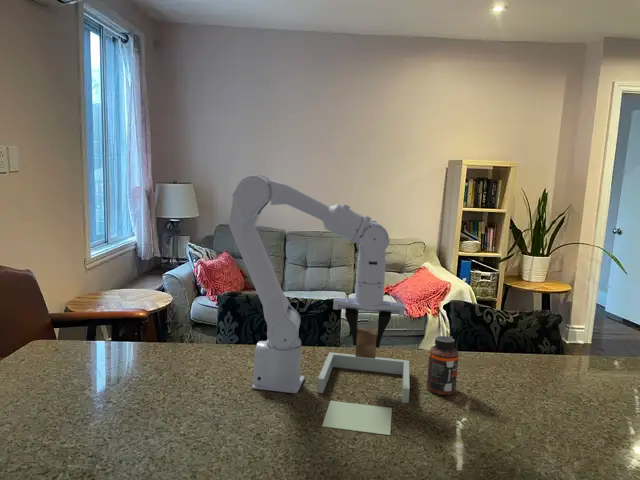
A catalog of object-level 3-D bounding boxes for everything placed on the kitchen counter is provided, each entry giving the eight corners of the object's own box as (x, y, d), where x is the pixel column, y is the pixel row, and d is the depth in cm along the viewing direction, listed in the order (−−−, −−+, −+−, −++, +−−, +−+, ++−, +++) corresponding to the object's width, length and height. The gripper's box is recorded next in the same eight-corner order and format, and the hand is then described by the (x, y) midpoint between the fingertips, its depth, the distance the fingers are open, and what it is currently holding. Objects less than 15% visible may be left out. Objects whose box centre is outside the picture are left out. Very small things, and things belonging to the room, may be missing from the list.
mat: (321, 426, 86) (321, 426, 86) (330, 401, 96) (330, 400, 96) (390, 435, 84) (390, 434, 84) (391, 408, 94) (391, 408, 94)
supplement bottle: (456, 398, 100) (460, 345, 98) (426, 394, 101) (430, 342, 99) (454, 386, 105) (458, 335, 104) (426, 382, 107) (430, 332, 105)
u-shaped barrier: (317, 392, 99) (317, 378, 99) (328, 364, 114) (329, 352, 114) (408, 403, 96) (409, 389, 96) (408, 373, 111) (409, 360, 111)
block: (355, 356, 100) (356, 333, 100) (357, 349, 104) (358, 327, 103) (375, 358, 100) (376, 335, 99) (375, 351, 104) (377, 329, 103)
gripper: (405, 279, 102) (401, 341, 104) (337, 274, 105) (334, 335, 106) (406, 287, 95) (401, 353, 97) (333, 281, 98) (329, 346, 99)
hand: (366, 345), depth 101 cm, fingers closed on block, 4 cm apart
